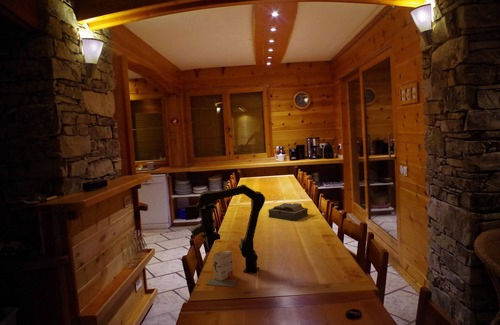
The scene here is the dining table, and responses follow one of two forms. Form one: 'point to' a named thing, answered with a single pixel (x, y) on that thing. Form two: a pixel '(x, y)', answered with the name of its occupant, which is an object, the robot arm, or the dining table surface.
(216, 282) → the slate mat
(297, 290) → the dining table surface
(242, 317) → the dining table surface
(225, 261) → the ink box
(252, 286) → the dining table surface
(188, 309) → the dining table surface
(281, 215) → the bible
